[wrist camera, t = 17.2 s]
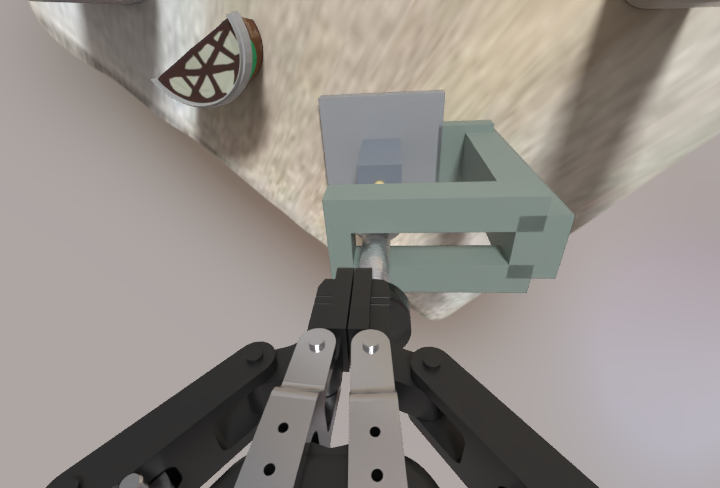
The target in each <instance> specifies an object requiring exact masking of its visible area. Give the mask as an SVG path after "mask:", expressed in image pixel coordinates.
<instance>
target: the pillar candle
mask: <svg viewBox="0 0 720 488" xmlns="http://www.w3.org/2000/svg"><path fill="white" fill-rule="evenodd" d="M30 1H43V2H72V3H101V4H134V3H138V2H140V1H142V0H30Z"/></svg>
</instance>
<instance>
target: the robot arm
mask: <svg viewBox="0 0 720 488" xmlns="http://www.w3.org/2000/svg"><path fill="white" fill-rule="evenodd" d="M626 1H627V2H628V3H630V4H631V5H633V6H635V7H637V8H643V9H661V8H696V7H720V0H626ZM350 366H351V391H350V395H349V444H348V445H344V446H339V447H335V448H330V442H331V435H332V430H333V425H334V420H335V416H336V410H337V406H338V401H339V396H340V391H341V381H342V373H343V372H349V368H350ZM399 411H402V412H405V413H407V414H408V415H409V418H410V420H411V421H412V422H413V423H414V425H415V426H416V427H417V428H418V429H419V430H420V432H421V433H422V434H423V435H424V436H425V438H426V439H427V440H428V441H429V442H430V443H431V445H432V446H433V447H434V448H435V449H436V451H437V452H438V453H439V454H440V455H441V456H442V458H443V459H444V460H445V461H446V462H447V464H448V465H449V466H450V467H451V468H452V469H453V471H454V472H455V473H456V474H457V475H458V477H459V478H460V479H461V480H462V481H463V482H464V484H465V485H466V486H467V487H468V488H599V487H598V486H597V485H595V484H594V483H593V482H592V481H591V480H590V479H588V478H587V477H586V476H585V475H584V474H583V473H582V472H581V471H580V470H578V469H577V468H576V467H575V466H574V465H573V464H572V463H570V462H569V461H568V460H567V459H566V458H565V457H564V456H562V455H561V454H560V453H559V452H558V451H557V450H556V449H555V448H553V447H552V446H551V445H550V444H549V443H548V442H547V441H545V440H544V439H543V438H542V437H541V436H540V435H538V434H537V433H536V432H535V431H534V430H533V429H532V428H531V427H530V426H528V425H527V424H526V423H525V422H524V421H523V420H522V419H520V418H519V417H518V416H517V415H516V414H515V413H514V412H513V411H511V410H510V409H509V408H508V407H507V406H506V405H505V404H503V403H502V402H501V401H500V400H499V399H498V398H497V397H495V396H494V395H493V394H492V393H491V392H490V391H489V390H487V389H486V388H485V387H484V386H483V385H482V384H481V383H479V382H478V381H477V380H476V379H475V378H474V377H473V376H472V375H470V374H469V373H468V372H467V371H466V370H465V369H464V368H462V367H461V366H460V365H459V364H458V363H457V362H456V361H454V360H453V359H452V358H451V357H450V356H449V355H448V354H446V353H445V352H444V351H442V350H441V349H438V348H434V347H423V348H420V349H418V350H417V351H415V352H411V351H408V350H405V349H403V348H401V347H399V346H398V345H396V344H395V343H394V342H393V340H392V339H391V336H390V316H389V287H388V285H387V283H386V282H385V280H375V279H373V276H372V268H345V267H338V268H337V272H336V277H335V279H325V280H324V281H323V282H322V283H321V284H320V286H319V287H318V290H317V295H316V298H315V303H314V306H313V310H312V314H311V318H310V322H309V326H308V330H307V332H305V333H304V334H303V335H302V336H301V337H300V338H299V340H298V342H297V343H296V344H294V345H291V346H288V347H285V348H280V349H277V350H274V348H273V346H272V345H270V344H269V343H266V342H254V343H251V344H249V345H246V346H245V347H244V348H242V349H240V350H239V351H237V352H236V353H235V354H233V355H232V356H230V357H229V358H227V359H226V360H224V361H223V362H222V363H220V364H219V365H217V366H216V367H214V368H213V369H212V370H210V371H209V372H207V373H206V374H205V375H203V376H201V377H200V378H199V379H197V380H196V381H194V382H193V383H191V384H190V385H189V386H187V387H186V388H184V389H183V390H181V391H180V392H179V393H177V394H176V395H174V396H173V397H171V398H170V399H168V400H167V401H165V402H164V403H163V404H161V405H160V406H159V407H157V408H155V409H154V410H152V411H151V412H150V413H148V414H147V415H145V416H144V417H142V418H141V419H140V420H138V421H137V422H135V423H134V424H132V425H131V426H130V427H128V428H127V429H125V430H124V431H122V432H121V433H119V434H118V435H116V436H115V437H114V438H112V439H111V440H109V441H108V442H107V443H105V444H104V445H102V446H101V447H99V448H98V449H96V450H95V451H93V452H92V453H91V454H89V455H88V456H86V457H85V458H83V459H82V460H81V461H79V462H78V463H76V464H75V465H73V466H72V467H70V468H69V469H68V470H66V471H65V472H63V473H62V474H60V475H59V476H58V477H56V478H55V479H54V480H53V481H52V482H51V483H50V484H49V485H48V486H47V487H46V488H200V487H201V486H202V485H203V484H204V483H205V482H207V481H208V480H209V479H210V478H211V477H212V476H213V475H214V474H215V473H216V472H218V471H219V470H220V469H221V468H222V467H223V466H224V465H225V464H226V463H228V462H229V461H230V460H231V459H232V458H233V457H234V456H235V455H237V454H238V453H239V452H240V451H241V450H242V449H243V448H244V447H245V446H246V445H248V443H250V442H251V441H252V443H251V445H250V448H249V451H248V453H247V455H246V456H245V457H243V458H241V459H240V460H239V461H238V462H236V463H235V464H234V465H233V466H231V467H230V468H229V469H228V470H227V471H226V472H225V473H224V474H223V475H222V476H221V477H220V478H219V479H218V480H217V481H216V482H215V483H214V484H213V485H212V486H211V487H210V488H439V487H438V485H437V484H436V482H435V481H434V480H433V479H432V477H431V476H430V475H429V474H428V473H427V472H426V471H425V469H424V468H422V467H421V466H420V465H419V464H418V463H416V462H415V461H413V460H412V459H410V458H408V457H406V456H404V450H403V441H402V432H401V423H400V415H399Z"/></svg>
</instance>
